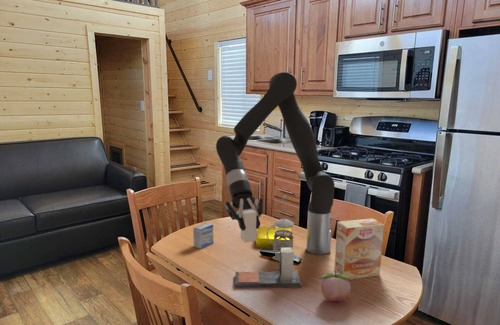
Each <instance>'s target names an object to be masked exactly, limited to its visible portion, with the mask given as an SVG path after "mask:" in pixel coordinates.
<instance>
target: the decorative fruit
mask: <svg viewBox="0 0 500 325" xmlns="http://www.w3.org/2000/svg"><path fill="white" fill-rule="evenodd" d="M319 279H321V280H320V292H321V294H322V295H323V296H324V297H325V298H326V299H328V300H329V301H331V302H340V301H342V300H345V298H347V297H348V296H349V294H351V293H350V292H351V291H352V290H351V289H352V288H351V283H350V281H352V279H350V278H349V277H348V276H347V275H345V274H340V273H336V271H335V272H334V271H333V272H328V273H325V274H323V275H322V276H320V277H319Z"/></svg>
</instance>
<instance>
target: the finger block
mask: <svg viewBox="0 0 500 325" xmlns="http://www.w3.org/2000/svg"><path fill="white" fill-rule="evenodd" d="M241 212H242V218H243V220H244V224H245V227H246V229H245V230H244V231H242V229H240V239H241V240H242V241H243V242H244V243H245V244H246V243H251V242H256V236H257V231H258V229H256V222H257V216H256V212H255V211H254V210H253V209H246V210H243V211H241Z"/></svg>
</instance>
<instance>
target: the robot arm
mask: <svg viewBox="0 0 500 325" xmlns="http://www.w3.org/2000/svg"><path fill="white" fill-rule="evenodd" d="M297 84H298V82H297V78H296V76H295V75H294V74H292V73H290V72H287V71H281V72H279V73H276V74H274V75H273V76H272V77H271V78H270V81H269V85H268V86H269V87H268V90H267V91H266V93H265V94H264V95H263V97H262V98H260V100H259V101H258V102H257V103H255V105H253V107H251V108H250V109H249V110H248V111H247V112H246V113H245V114H244V115H243V116H242V118H241V119H240V120H239V121H238V122H237V123H236V124H235V126H234V128H233V132H234V134H235V136H234V138H231V137H230V136H227V135H223V136H220V137H219V138H218V139H217V141H216V144H215V149H216V153H217V155H218V158H219V159H220V161H221V164H222V165H223V168H224V173H225V176H226V183H227V188H228V190H229V194H230V198H231V201H226V203H225V205H224V208H225V210H226V213H228V215H229V217H230V218H231V220H232V221H234V220H235V221H237V223H238V226H239V229H240V230H241V229H242V231H244V230H245V229H246V227H245V224H244V220H243V218H242V212H241V211H243V210H246V209H253V210H254V211H255V212H256V216H257V222H256V229H257V230H258V228H259V227H260V226H261V221H260V218H259V217H261V216H262V214H263V211H264V210H263V209H264V199H263V198H259V199H258V198H255V197H254V195H253V191H252V188H251V187H252V186H251V184H250V181H249V178H248V175H247V172H246V169H245V166H244V163H243V161H242V160H241V158H240V155H242V153H243V151H244V150H245V147H246V145H247V144H248V142H249V139H250V138H251V136H253V134H254V133H255V132H256V131H257V130H258V129H259V127H260V126H261V125H262V124H263V122H264V121H265V120H266V119H267V118H268V117H269V115H271V113H272V112H274V110H275V109H276V108H277V107H278V108H279V110H280V113H281V116H282V119H283V122H284V125H285V128H286V131H287V134H288V137H289V140H290V143H291V145H292V147H293V149H294V152H295V154H296V155H297V158H298V159H299V160H298V161H299V162H300V164H301V167H302V169H303V173H304V177H305V182H306V185H307V187H308V188H309V190H310V191H311V196H310V202H308V206H307V223H306V224H307V227H306V228H307V229H306V243H305V244H306V245H305V246H306V247H305V248H306V251H307V252H308V253H310V254H313V255H318V256H319V255H321V256H322V255H326V254H330V253H331V244H332V243H331V242H332V241H331V240H332V230H331V219H332V218H331V216H332V215H331V213H332V207H333V204H334V199H335V198H334V197H335V181H334V179H333V177H332V176H331V175H329V174H327V173H326V172H325V170H324V168H323V166H322V164H321V162H320V160H319V156H318V150H317V148H318V147H317V141H316V138H315V134H314V132H313V128H312V126H311V124H310V122H309V120H308V118H307V117H306V115H305V114H304V113H303V110H302V109H301V107H300V106H299V103H298V102H297V99H296V96H295V93H294V92H295V91H296V89H297V86H298V85H297ZM254 204H255V205H256V206H255V205H254ZM233 207H234V208H235V209H236V211H235V210H234V208H233ZM256 208H257V209H256Z"/></svg>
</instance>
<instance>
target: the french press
mask: <svg viewBox="0 0 500 325" xmlns="http://www.w3.org/2000/svg"><path fill="white" fill-rule="evenodd" d="M281 199H282V200H283V212H285V209H286V208H285V206H286V205H285V204H286V202H285V201H286V200H288V197H287V196H286V195H283V196H282V198H281ZM293 226H295V222H293V221H292V220H290V219H287V218H281V219H277V220H275V221H274V222H273V225H270V226H269V229H270V227H271V228H272V227H273V228H274V229H275V227H280V228H283V230H278V231H276V232H275V235H274V242H273V243H274V244H273V248H272V252H273V251H274V253H275V252H280V248H292V249H293V250H294V236H293V232H292V231H291V232H290V231H288V230H284V228H290V229H291V228H293ZM269 229H268V230H269ZM267 236H268V231H267ZM277 237H280V238H278V239H277ZM284 237H287V238H288V239H290V240H288V239H286V238H284ZM267 239H269V237H267ZM279 239H285V240H287V241H285V240H279ZM269 240H270V239H269ZM269 240H268V241H269ZM270 241H271V240H270ZM270 241H269V242H270ZM271 242H272V241H271ZM271 242H270V243H271ZM277 243H279V244H277ZM271 244H272V243H271ZM281 244H282V245H281ZM283 245H285V246H287V247H285V246H283ZM277 246H279V247H277ZM289 246H290V247H289ZM279 257H280V253H275V256H273V257H271V258H272V259H273V260H274V261H276V262H277V261H278V262H279Z"/></svg>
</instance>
